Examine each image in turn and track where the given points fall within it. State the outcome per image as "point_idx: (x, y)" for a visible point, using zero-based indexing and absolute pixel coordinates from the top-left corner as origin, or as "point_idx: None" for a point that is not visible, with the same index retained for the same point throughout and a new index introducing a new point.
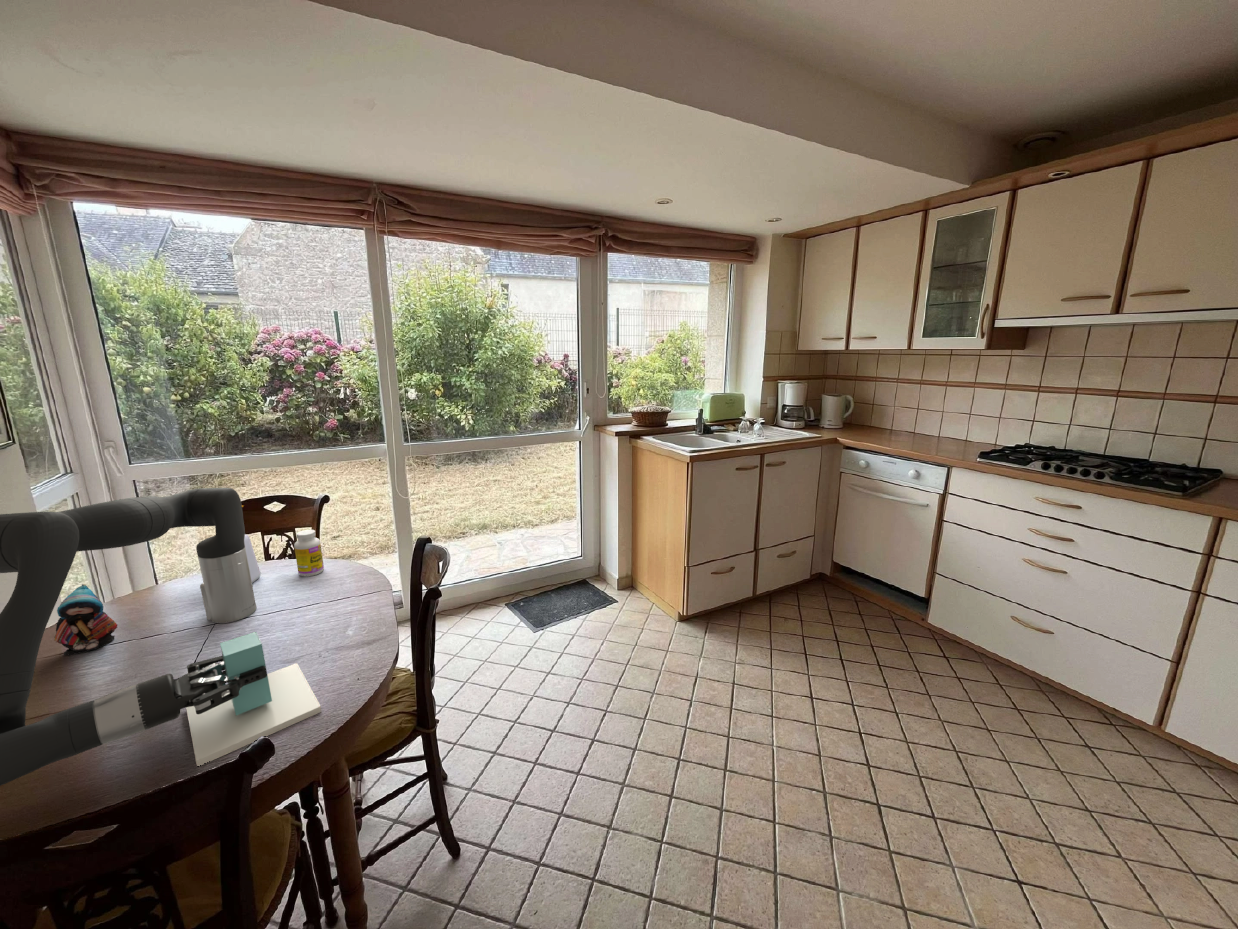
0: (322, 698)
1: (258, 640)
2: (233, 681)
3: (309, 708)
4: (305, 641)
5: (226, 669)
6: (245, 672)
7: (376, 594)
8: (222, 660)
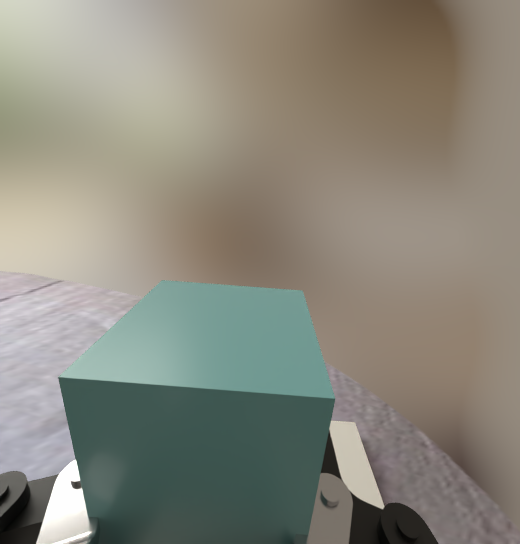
0: None
1: (260, 288)
2: (381, 518)
3: (351, 441)
4: (32, 374)
5: (270, 502)
6: None
7: (61, 284)
8: (10, 520)
